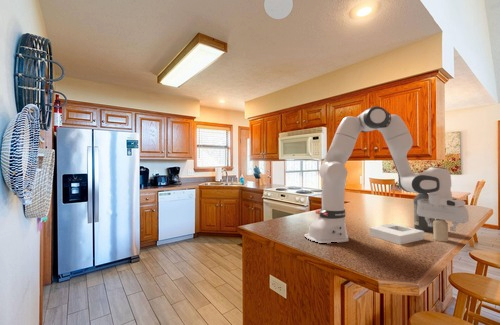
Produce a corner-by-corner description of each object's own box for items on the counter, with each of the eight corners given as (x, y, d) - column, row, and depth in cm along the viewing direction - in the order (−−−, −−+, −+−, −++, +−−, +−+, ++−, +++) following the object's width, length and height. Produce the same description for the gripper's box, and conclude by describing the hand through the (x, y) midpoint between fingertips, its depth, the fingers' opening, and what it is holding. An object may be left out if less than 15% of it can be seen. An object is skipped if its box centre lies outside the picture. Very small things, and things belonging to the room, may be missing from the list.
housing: (400, 244, 106) (399, 236, 106) (369, 235, 120) (369, 227, 120) (424, 239, 113) (424, 231, 113) (392, 230, 128) (392, 223, 128)
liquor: (433, 228, 130) (432, 175, 131) (435, 232, 123) (434, 176, 123) (414, 226, 135) (412, 175, 136) (414, 230, 128) (413, 176, 128)
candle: (430, 238, 114) (430, 218, 114) (440, 237, 115) (440, 217, 115) (440, 242, 109) (440, 220, 109) (451, 241, 109) (450, 220, 109)
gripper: (413, 198, 120) (414, 224, 120) (462, 203, 101) (463, 235, 101) (421, 197, 123) (422, 223, 122) (469, 202, 104) (471, 233, 104)
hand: (441, 228), depth 112 cm, fingers open, 8 cm apart
